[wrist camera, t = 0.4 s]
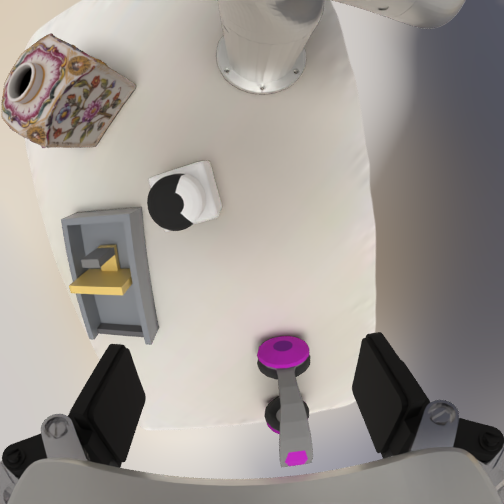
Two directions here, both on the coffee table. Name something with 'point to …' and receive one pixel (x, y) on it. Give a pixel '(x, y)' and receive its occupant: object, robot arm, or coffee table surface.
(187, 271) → the coffee table surface
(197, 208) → the medicine bottle
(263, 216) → the coffee table surface
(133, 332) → the gray tray
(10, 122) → the decorative jar
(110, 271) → the pusher
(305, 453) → the headphones
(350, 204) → the coffee table surface
